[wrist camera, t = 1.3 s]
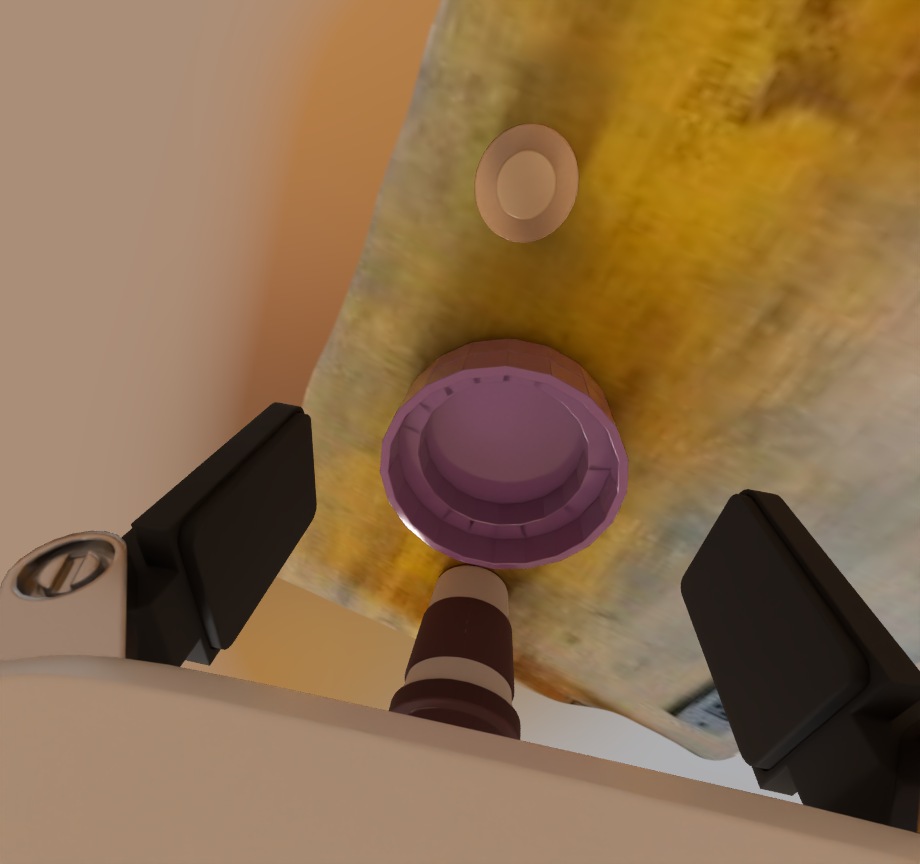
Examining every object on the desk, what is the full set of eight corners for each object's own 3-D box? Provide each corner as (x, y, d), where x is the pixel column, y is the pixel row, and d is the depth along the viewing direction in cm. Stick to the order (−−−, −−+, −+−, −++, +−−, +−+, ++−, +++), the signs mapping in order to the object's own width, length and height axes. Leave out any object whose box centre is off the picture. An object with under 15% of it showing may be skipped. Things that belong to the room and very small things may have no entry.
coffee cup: (538, 609, 43) (543, 791, 30) (453, 629, 46) (424, 800, 33) (494, 541, 39) (477, 716, 26) (405, 568, 42) (352, 734, 29)
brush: (553, 109, 23) (573, 52, 13) (586, 210, 25) (623, 223, 15) (464, 162, 24) (425, 146, 15) (502, 253, 27) (488, 288, 17)
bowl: (568, 296, 27) (577, 320, 22) (637, 485, 34) (657, 538, 29) (364, 387, 33) (334, 424, 28) (458, 535, 39) (447, 588, 34)
